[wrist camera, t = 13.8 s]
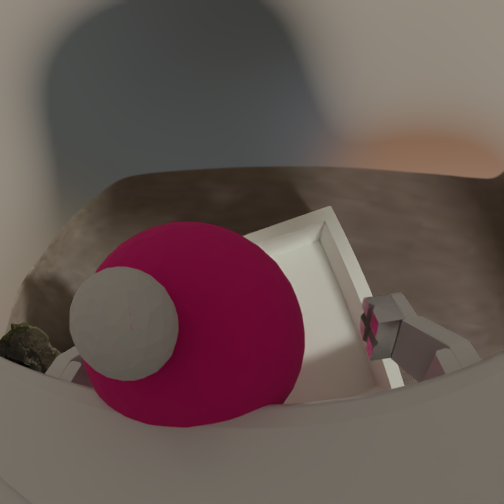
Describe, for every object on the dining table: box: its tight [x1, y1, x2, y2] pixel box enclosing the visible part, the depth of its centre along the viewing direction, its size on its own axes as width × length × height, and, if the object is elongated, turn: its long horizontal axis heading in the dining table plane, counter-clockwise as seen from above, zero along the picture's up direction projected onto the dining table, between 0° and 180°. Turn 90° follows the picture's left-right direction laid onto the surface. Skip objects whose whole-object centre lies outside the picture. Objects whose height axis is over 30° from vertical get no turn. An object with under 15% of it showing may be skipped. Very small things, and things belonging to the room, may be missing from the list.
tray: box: [243, 206, 404, 404], centre depth 20 cm, size 16×16×5 cm
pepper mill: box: [70, 222, 305, 428], centre depth 12 cm, size 7×7×20 cm
